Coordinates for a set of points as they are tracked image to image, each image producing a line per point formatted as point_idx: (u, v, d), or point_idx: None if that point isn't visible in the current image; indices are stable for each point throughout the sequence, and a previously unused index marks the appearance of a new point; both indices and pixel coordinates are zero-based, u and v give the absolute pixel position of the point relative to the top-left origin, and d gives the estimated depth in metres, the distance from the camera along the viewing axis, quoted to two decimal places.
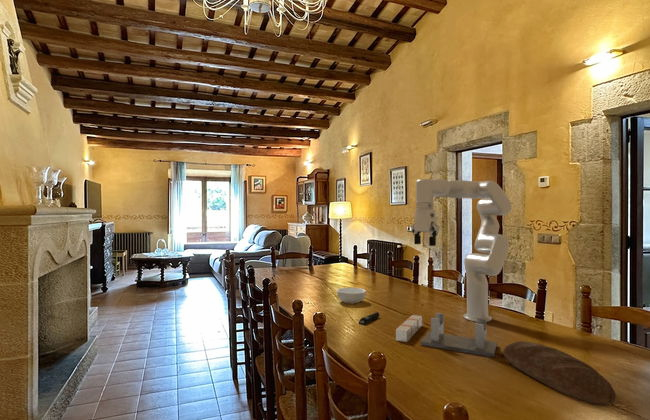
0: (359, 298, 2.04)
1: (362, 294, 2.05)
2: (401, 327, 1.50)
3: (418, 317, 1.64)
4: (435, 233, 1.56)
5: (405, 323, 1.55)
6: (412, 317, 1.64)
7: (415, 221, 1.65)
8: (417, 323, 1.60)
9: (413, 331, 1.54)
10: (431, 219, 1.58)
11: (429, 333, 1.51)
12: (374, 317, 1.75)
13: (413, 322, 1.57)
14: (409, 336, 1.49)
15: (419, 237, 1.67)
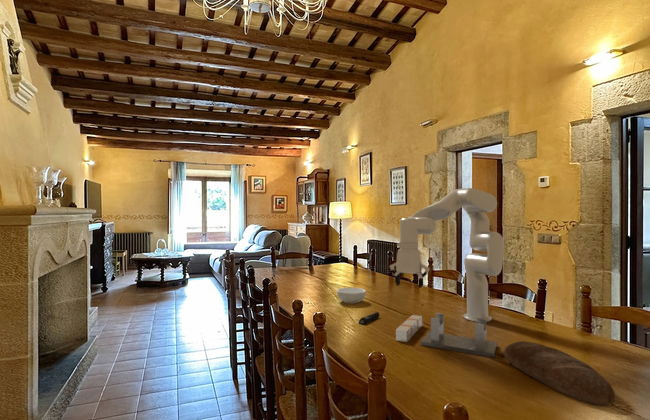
0: (359, 298, 2.04)
1: (362, 294, 2.05)
2: (401, 327, 1.50)
3: (418, 317, 1.64)
4: None
5: (405, 323, 1.55)
6: (412, 317, 1.64)
7: None
8: (417, 323, 1.60)
9: (413, 331, 1.54)
10: None
11: (429, 333, 1.51)
12: (374, 317, 1.76)
13: (413, 322, 1.57)
14: (409, 336, 1.49)
15: None
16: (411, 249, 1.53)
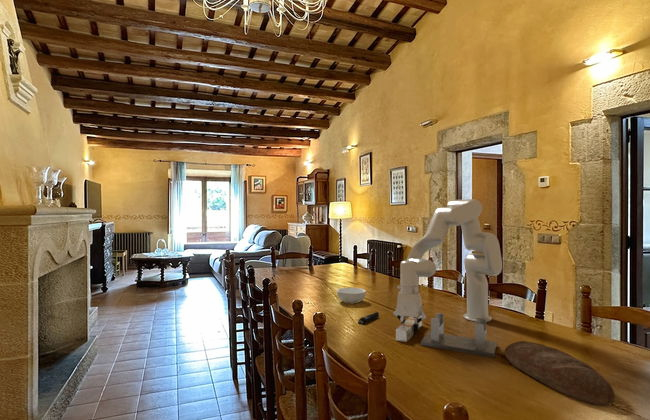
0: (359, 298, 2.04)
1: (362, 294, 2.05)
2: (401, 327, 1.50)
3: (418, 317, 1.64)
4: None
5: (405, 323, 1.55)
6: (412, 317, 1.64)
7: None
8: None
9: (413, 331, 1.54)
10: None
11: (429, 333, 1.51)
12: (373, 317, 1.76)
13: (413, 322, 1.57)
14: (409, 336, 1.49)
15: None
16: (411, 293, 1.53)
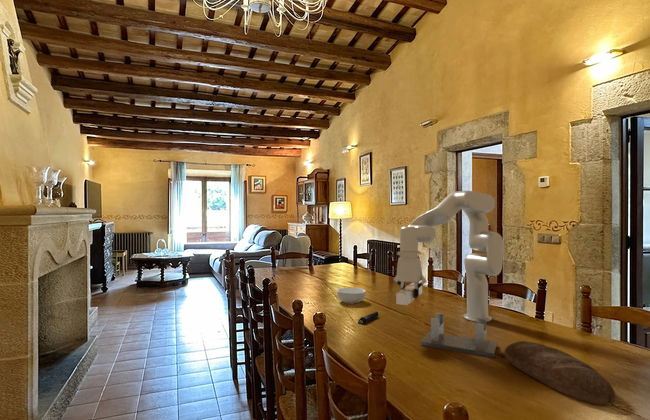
0: (359, 298, 2.04)
1: (362, 294, 2.05)
2: (401, 291, 1.50)
3: None
4: None
5: (405, 288, 1.56)
6: (412, 284, 1.64)
7: None
8: None
9: (413, 296, 1.54)
10: None
11: (429, 333, 1.51)
12: (373, 317, 1.76)
13: (413, 287, 1.57)
14: (409, 300, 1.49)
15: None
16: (411, 258, 1.53)
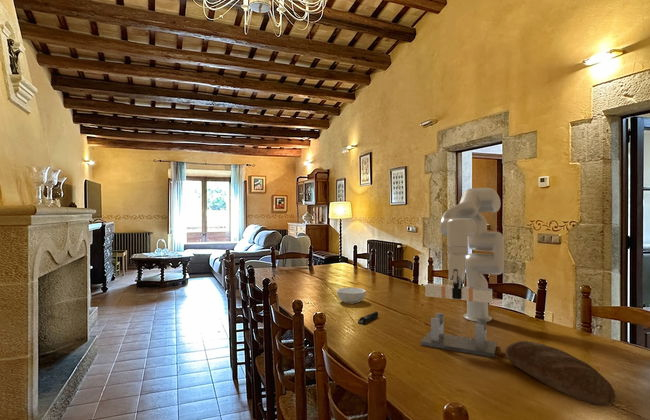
0: (359, 298, 2.04)
1: (362, 294, 2.05)
2: (436, 284, 1.47)
3: (482, 289, 1.36)
4: None
5: (452, 285, 1.44)
6: (479, 288, 1.39)
7: (462, 269, 1.37)
8: (468, 292, 1.37)
9: (451, 295, 1.41)
10: None
11: (429, 333, 1.51)
12: (373, 317, 1.76)
13: None
14: (435, 294, 1.43)
15: None
16: (448, 253, 1.42)
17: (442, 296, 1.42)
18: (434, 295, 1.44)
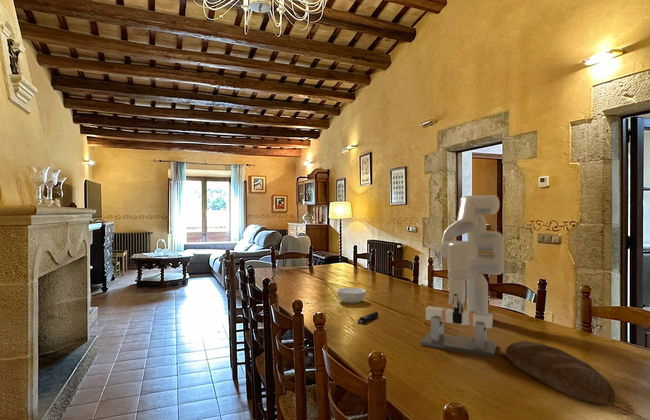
0: (359, 298, 2.04)
1: (362, 294, 2.05)
2: (436, 307, 1.46)
3: (483, 314, 1.36)
4: None
5: (452, 309, 1.44)
6: (480, 313, 1.38)
7: (462, 293, 1.37)
8: (468, 317, 1.37)
9: (451, 319, 1.40)
10: None
11: (429, 333, 1.51)
12: (373, 317, 1.76)
13: None
14: None
15: None
16: (448, 277, 1.41)
17: (442, 320, 1.42)
18: None
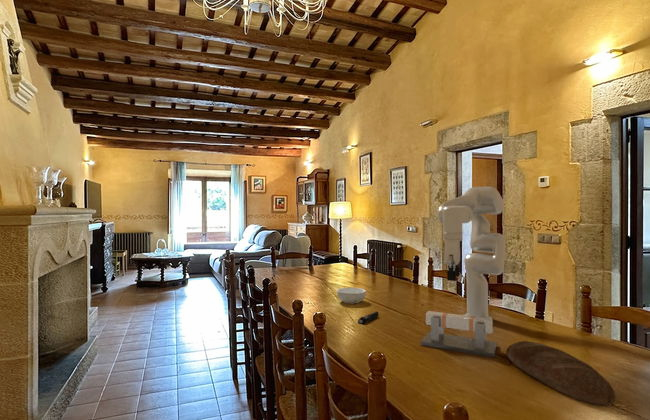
0: (359, 298, 2.04)
1: (362, 294, 2.05)
2: (436, 312, 1.47)
3: (483, 320, 1.36)
4: None
5: (452, 314, 1.44)
6: (480, 318, 1.39)
7: (457, 254, 1.46)
8: (469, 322, 1.38)
9: (451, 324, 1.41)
10: None
11: (429, 333, 1.51)
12: (373, 316, 1.76)
13: (459, 317, 1.40)
14: None
15: None
16: (443, 239, 1.49)
17: (443, 325, 1.42)
18: None
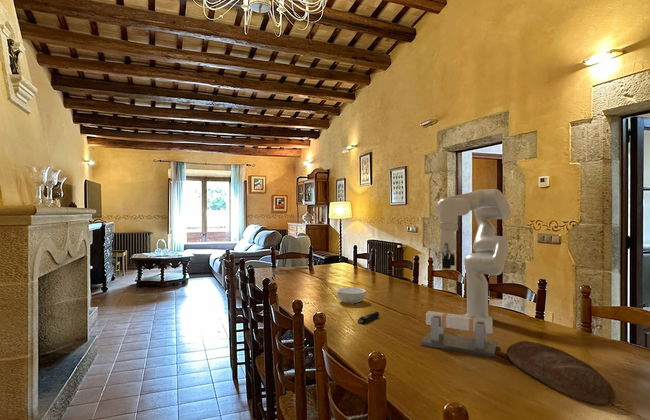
0: (359, 298, 2.04)
1: (362, 294, 2.05)
2: (436, 312, 1.47)
3: (483, 320, 1.36)
4: None
5: (452, 314, 1.44)
6: (480, 318, 1.39)
7: (452, 243, 1.53)
8: (469, 322, 1.38)
9: (451, 324, 1.41)
10: None
11: (429, 333, 1.51)
12: (373, 316, 1.76)
13: (459, 317, 1.40)
14: None
15: None
16: (439, 229, 1.57)
17: (443, 325, 1.42)
18: None
